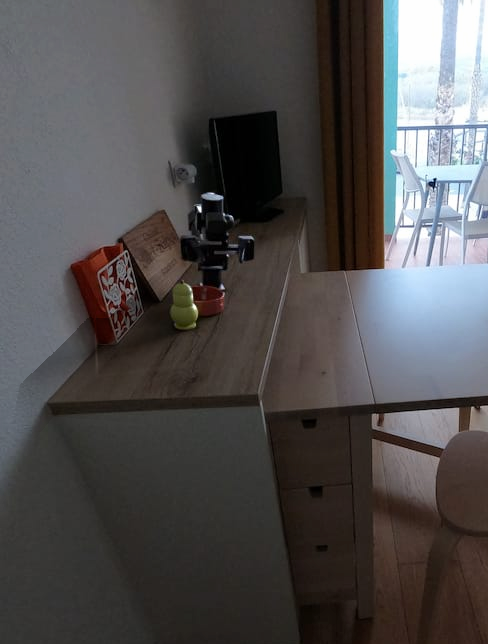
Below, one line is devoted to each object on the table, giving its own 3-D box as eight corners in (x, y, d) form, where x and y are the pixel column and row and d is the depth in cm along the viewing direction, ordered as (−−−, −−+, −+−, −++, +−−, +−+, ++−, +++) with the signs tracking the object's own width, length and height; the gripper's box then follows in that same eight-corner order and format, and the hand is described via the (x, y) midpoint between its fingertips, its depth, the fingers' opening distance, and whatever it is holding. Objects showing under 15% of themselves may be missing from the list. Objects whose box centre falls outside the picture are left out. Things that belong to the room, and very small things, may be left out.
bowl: (175, 301, 130) (174, 286, 128) (219, 299, 136) (218, 284, 134) (182, 319, 121) (181, 303, 119) (229, 315, 127) (228, 300, 124)
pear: (169, 321, 119) (165, 274, 113) (196, 319, 122) (193, 273, 116) (173, 332, 114) (168, 284, 108) (200, 329, 117) (198, 282, 111)
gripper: (175, 206, 118) (181, 230, 107) (248, 209, 126) (261, 231, 115) (178, 247, 125) (184, 273, 114) (248, 248, 132) (259, 272, 121)
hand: (222, 261), depth 116 cm, fingers open, 9 cm apart
